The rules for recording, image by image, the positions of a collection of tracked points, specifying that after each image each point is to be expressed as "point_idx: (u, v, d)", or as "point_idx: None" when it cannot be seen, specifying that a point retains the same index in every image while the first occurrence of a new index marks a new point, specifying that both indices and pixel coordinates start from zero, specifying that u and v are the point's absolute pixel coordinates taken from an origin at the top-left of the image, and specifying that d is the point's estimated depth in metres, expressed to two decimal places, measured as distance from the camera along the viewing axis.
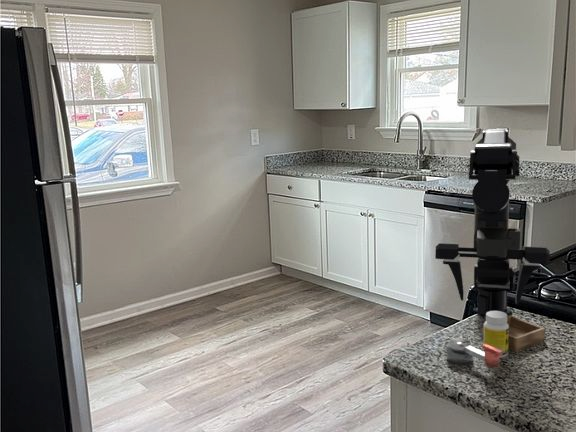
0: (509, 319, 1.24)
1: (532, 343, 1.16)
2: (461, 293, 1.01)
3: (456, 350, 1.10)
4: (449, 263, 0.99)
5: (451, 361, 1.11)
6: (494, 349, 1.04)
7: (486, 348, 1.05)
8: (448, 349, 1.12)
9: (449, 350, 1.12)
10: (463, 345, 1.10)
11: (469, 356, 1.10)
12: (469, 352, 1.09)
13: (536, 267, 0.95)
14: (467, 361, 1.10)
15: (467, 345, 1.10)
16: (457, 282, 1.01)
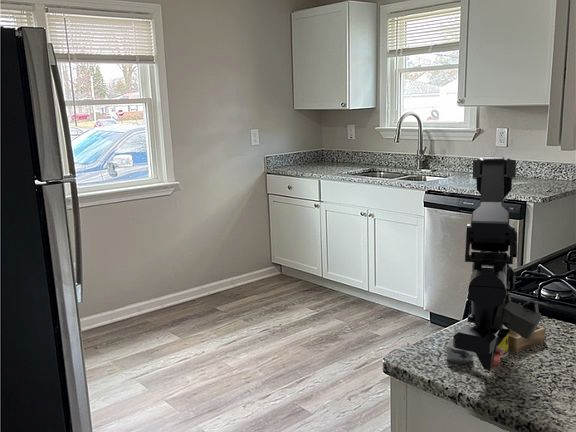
0: None
1: (532, 343, 1.16)
2: (491, 364, 1.02)
3: (456, 350, 1.10)
4: (499, 343, 0.98)
5: (451, 361, 1.11)
6: None
7: None
8: (448, 349, 1.12)
9: (449, 350, 1.12)
10: None
11: (469, 356, 1.10)
12: (469, 352, 1.09)
13: (508, 332, 1.02)
14: (467, 361, 1.10)
15: None
16: (492, 356, 1.01)
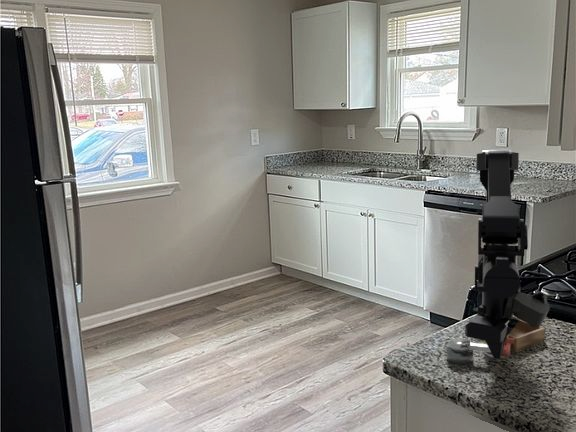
0: None
1: (532, 343, 1.16)
2: (501, 353, 1.06)
3: (463, 350, 1.10)
4: (509, 333, 1.02)
5: (451, 361, 1.11)
6: None
7: None
8: (448, 349, 1.12)
9: (449, 350, 1.12)
10: (467, 344, 1.11)
11: (469, 356, 1.10)
12: (476, 349, 1.10)
13: (518, 322, 1.06)
14: (467, 361, 1.10)
15: (469, 343, 1.11)
16: (502, 345, 1.05)
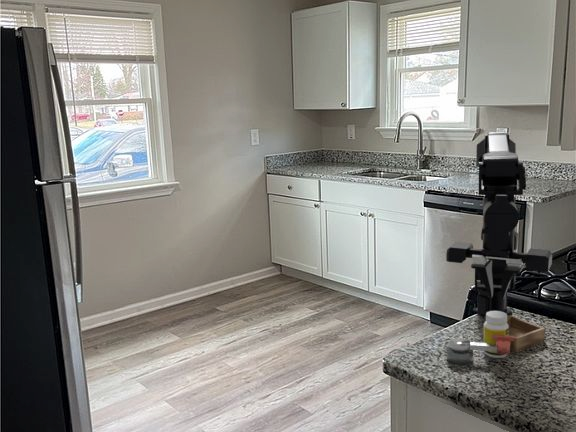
0: (509, 319, 1.24)
1: (532, 343, 1.16)
2: None
3: (464, 350, 1.10)
4: None
5: (451, 361, 1.11)
6: (506, 336, 1.09)
7: (498, 338, 1.09)
8: (448, 349, 1.12)
9: (449, 350, 1.12)
10: (467, 343, 1.11)
11: (469, 356, 1.10)
12: (476, 348, 1.10)
13: None
14: (467, 361, 1.10)
15: (469, 342, 1.11)
16: None
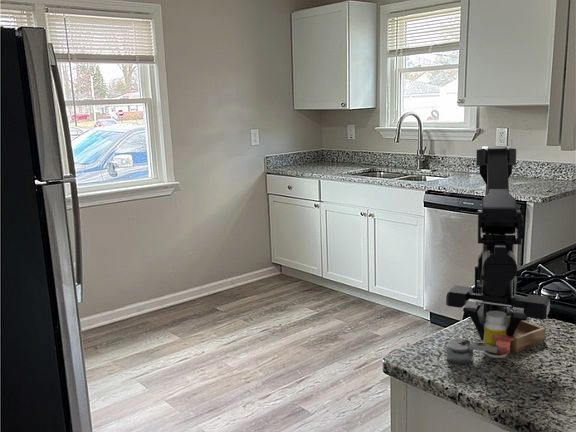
0: (509, 319, 1.24)
1: (532, 343, 1.16)
2: None
3: (464, 350, 1.10)
4: None
5: (451, 361, 1.11)
6: (506, 336, 1.09)
7: (498, 338, 1.09)
8: (448, 349, 1.12)
9: (449, 350, 1.12)
10: (467, 343, 1.11)
11: (469, 356, 1.10)
12: (476, 348, 1.10)
13: None
14: (467, 361, 1.10)
15: (469, 342, 1.11)
16: None
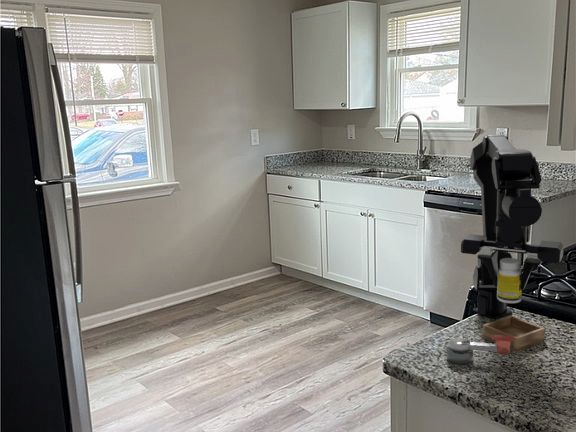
0: (509, 319, 1.24)
1: (532, 343, 1.16)
2: None
3: (464, 350, 1.10)
4: None
5: (451, 361, 1.11)
6: (506, 336, 1.09)
7: (498, 338, 1.09)
8: (448, 349, 1.12)
9: (449, 350, 1.12)
10: (467, 343, 1.11)
11: (469, 356, 1.10)
12: (476, 348, 1.10)
13: None
14: (467, 361, 1.10)
15: (469, 342, 1.11)
16: None
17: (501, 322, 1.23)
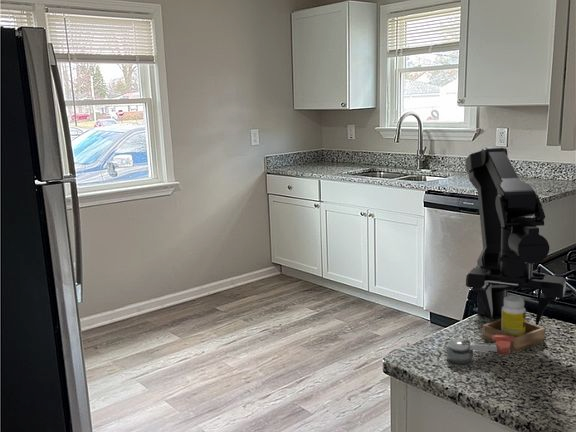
0: None
1: (532, 343, 1.16)
2: None
3: (464, 350, 1.10)
4: None
5: (451, 361, 1.11)
6: (506, 336, 1.09)
7: (498, 338, 1.09)
8: (448, 349, 1.12)
9: (449, 350, 1.12)
10: (467, 343, 1.11)
11: (469, 356, 1.10)
12: (476, 348, 1.10)
13: None
14: (467, 361, 1.10)
15: (469, 342, 1.11)
16: None
17: None
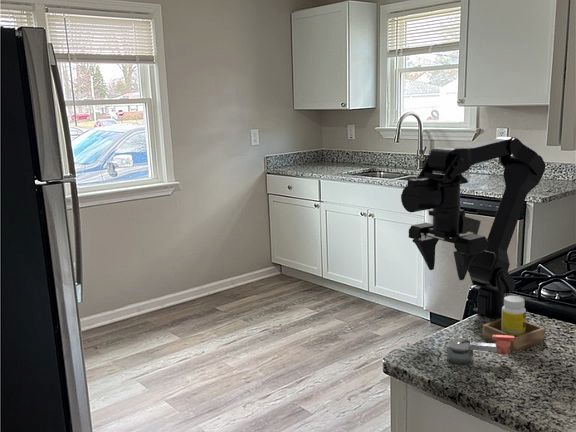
0: None
1: (532, 343, 1.16)
2: None
3: (464, 350, 1.10)
4: None
5: (451, 361, 1.11)
6: (506, 336, 1.09)
7: (498, 338, 1.09)
8: (448, 349, 1.12)
9: (449, 350, 1.12)
10: (467, 343, 1.11)
11: (469, 356, 1.10)
12: (476, 348, 1.10)
13: None
14: (467, 361, 1.10)
15: (469, 342, 1.11)
16: None
17: (501, 322, 1.23)
